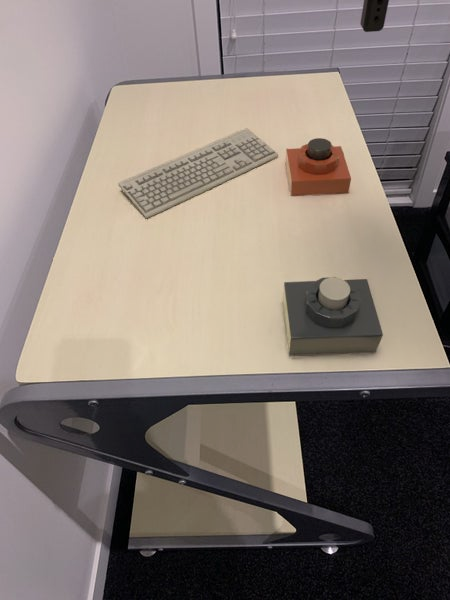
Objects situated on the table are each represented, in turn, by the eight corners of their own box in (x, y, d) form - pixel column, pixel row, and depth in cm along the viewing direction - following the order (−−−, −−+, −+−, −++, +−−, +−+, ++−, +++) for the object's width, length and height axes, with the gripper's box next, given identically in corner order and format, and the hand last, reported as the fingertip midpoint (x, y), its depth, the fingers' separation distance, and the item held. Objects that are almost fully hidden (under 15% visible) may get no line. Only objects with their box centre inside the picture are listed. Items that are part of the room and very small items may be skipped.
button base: (338, 160, 81) (342, 135, 77) (348, 193, 75) (353, 168, 71) (285, 163, 81) (286, 138, 77) (290, 195, 75) (292, 171, 71)
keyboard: (146, 219, 73) (143, 210, 72) (119, 190, 79) (117, 181, 77) (278, 157, 83) (279, 147, 81) (246, 135, 88) (246, 126, 87)
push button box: (361, 297, 60) (370, 268, 55) (376, 352, 54) (387, 324, 50) (282, 300, 60) (284, 271, 56) (288, 355, 55) (291, 328, 50)
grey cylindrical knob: (344, 287, 54) (347, 276, 52) (350, 310, 52) (353, 299, 50) (315, 288, 54) (317, 277, 53) (320, 311, 52) (322, 300, 50)
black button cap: (328, 148, 76) (329, 137, 74) (331, 161, 73) (333, 150, 72) (305, 149, 76) (306, 138, 74) (308, 162, 73) (309, 151, 72)
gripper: (499, -224, 29) (423, 51, 43) (438, -224, 38) (391, 6, 51) (387, -214, 30) (347, 56, 43) (351, -216, 38) (327, 10, 51)
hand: (371, 28), depth 47 cm, fingers closed
